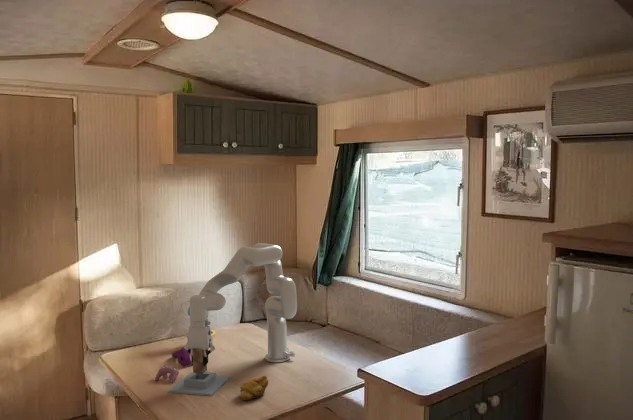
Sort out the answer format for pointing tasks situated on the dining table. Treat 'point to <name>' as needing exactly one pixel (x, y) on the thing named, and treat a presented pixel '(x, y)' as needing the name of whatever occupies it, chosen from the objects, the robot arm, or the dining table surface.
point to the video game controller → (163, 373)
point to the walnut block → (198, 361)
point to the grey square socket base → (200, 384)
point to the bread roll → (253, 387)
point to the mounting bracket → (182, 357)
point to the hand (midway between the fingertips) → (199, 363)
